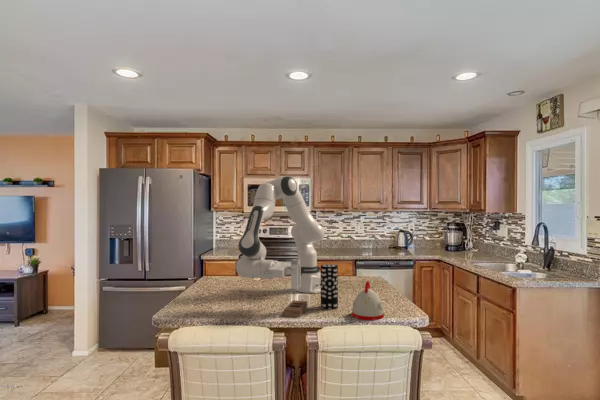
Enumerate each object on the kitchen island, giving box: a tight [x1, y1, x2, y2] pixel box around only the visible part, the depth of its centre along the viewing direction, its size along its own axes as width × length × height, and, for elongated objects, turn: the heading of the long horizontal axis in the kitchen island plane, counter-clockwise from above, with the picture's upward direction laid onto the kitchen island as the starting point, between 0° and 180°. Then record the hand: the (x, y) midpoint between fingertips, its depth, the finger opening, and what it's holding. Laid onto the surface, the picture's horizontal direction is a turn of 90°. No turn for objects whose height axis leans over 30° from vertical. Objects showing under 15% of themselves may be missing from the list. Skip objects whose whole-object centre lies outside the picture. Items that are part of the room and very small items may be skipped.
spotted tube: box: [320, 263, 339, 310], centre depth 174 cm, size 8×8×20 cm
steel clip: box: [290, 258, 301, 290], centre depth 167 cm, size 6×3×13 cm, turn 167°
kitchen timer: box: [351, 281, 385, 321], centre depth 161 cm, size 14×14×15 cm
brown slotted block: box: [283, 299, 308, 318], centre depth 167 cm, size 16×7×3 cm, turn 167°
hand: (297, 270), depth 167 cm, fingers closed on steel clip, 6 cm apart
